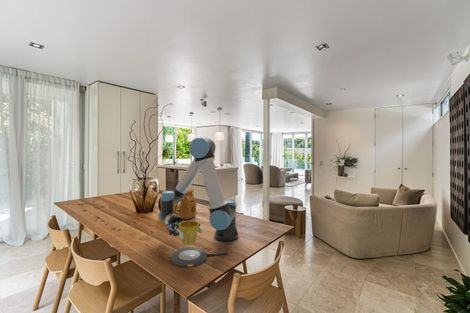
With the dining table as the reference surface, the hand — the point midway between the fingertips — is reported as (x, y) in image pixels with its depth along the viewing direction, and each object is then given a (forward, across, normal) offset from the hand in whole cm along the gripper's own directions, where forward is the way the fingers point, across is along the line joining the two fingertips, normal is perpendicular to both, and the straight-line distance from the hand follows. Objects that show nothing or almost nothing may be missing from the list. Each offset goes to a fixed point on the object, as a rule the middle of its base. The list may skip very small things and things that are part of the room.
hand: (192, 233), depth 114 cm
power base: (-1, -6, -14) cm, 15 cm away
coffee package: (-65, -32, -15) cm, 74 cm away
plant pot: (-4, 0, -6) cm, 7 cm away
